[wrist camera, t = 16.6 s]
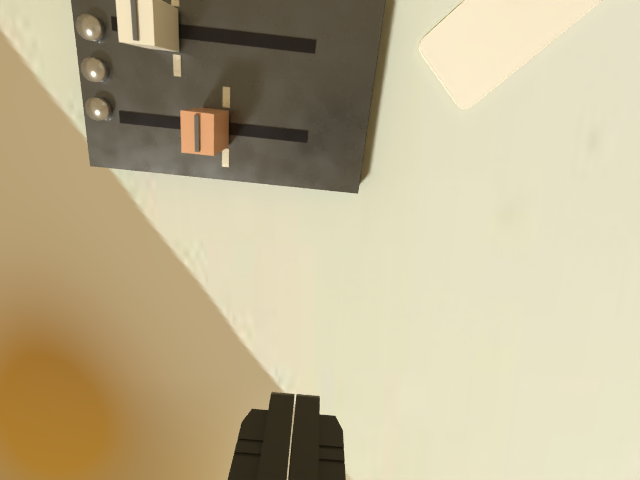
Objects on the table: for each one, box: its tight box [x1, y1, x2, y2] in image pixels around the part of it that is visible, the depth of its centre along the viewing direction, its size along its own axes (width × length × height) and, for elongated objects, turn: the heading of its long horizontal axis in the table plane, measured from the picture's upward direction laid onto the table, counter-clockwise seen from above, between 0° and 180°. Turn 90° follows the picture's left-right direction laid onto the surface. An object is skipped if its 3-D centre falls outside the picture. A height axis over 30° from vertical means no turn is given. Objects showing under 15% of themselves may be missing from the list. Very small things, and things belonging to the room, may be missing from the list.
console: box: [71, 0, 385, 193], centre depth 32 cm, size 16×24×3 cm, turn 84°
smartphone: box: [419, 0, 602, 109], centre depth 32 cm, size 7×1×15 cm
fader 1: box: [116, 0, 179, 52], centre depth 28 cm, size 3×2×5 cm
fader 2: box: [180, 107, 229, 156], centre depth 30 cm, size 3×2×5 cm
